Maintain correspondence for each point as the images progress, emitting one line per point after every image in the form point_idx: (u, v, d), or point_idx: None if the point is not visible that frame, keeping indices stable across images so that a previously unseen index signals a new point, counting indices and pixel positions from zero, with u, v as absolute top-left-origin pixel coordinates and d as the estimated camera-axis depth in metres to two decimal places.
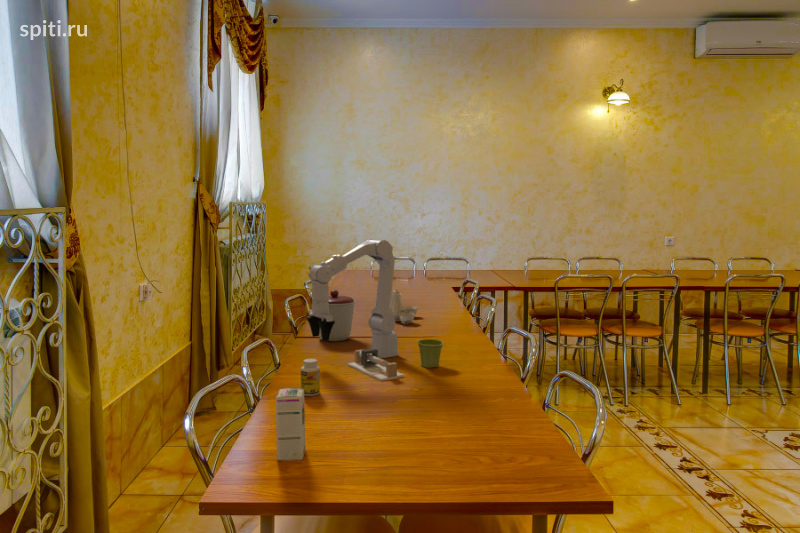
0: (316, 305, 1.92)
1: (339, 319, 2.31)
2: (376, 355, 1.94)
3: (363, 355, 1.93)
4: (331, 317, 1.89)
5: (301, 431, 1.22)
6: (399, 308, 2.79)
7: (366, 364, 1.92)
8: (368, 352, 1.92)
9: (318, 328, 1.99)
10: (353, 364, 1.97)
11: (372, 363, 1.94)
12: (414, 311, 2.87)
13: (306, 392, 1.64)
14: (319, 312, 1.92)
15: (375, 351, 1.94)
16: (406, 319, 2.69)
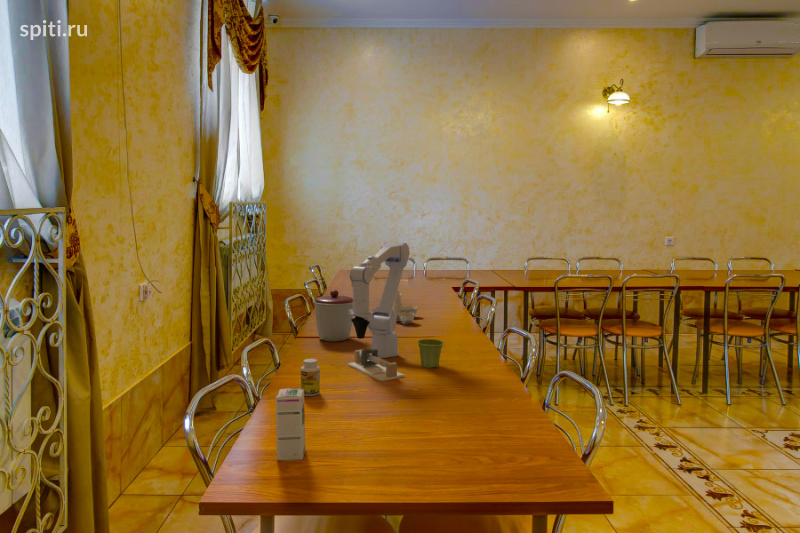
0: (357, 305, 1.95)
1: (339, 319, 2.31)
2: (376, 355, 1.94)
3: (363, 355, 1.93)
4: (373, 317, 1.92)
5: (301, 431, 1.22)
6: (399, 308, 2.79)
7: (366, 364, 1.92)
8: (368, 352, 1.92)
9: None
10: (353, 364, 1.97)
11: (372, 363, 1.94)
12: (414, 311, 2.87)
13: (306, 392, 1.64)
14: (360, 312, 1.95)
15: (375, 351, 1.94)
16: (406, 319, 2.69)
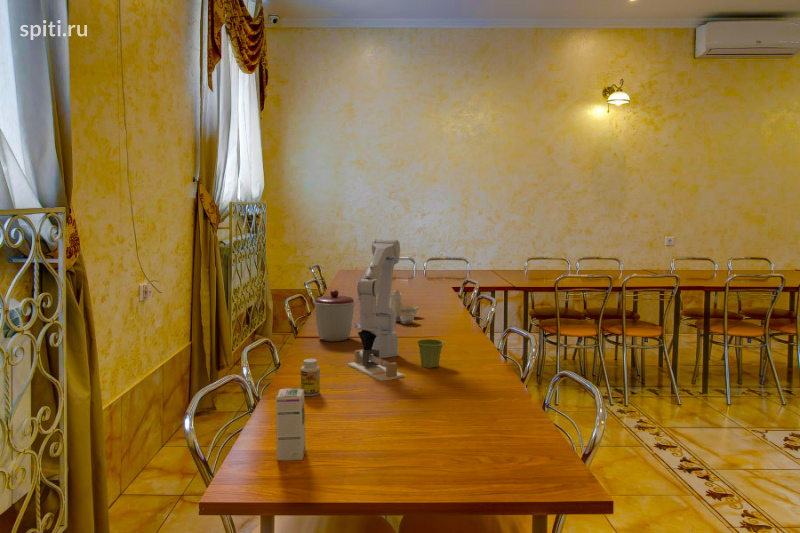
0: (364, 319, 1.91)
1: (339, 319, 2.31)
2: (377, 356, 1.94)
3: (364, 356, 1.92)
4: (380, 331, 1.89)
5: (301, 431, 1.22)
6: (399, 308, 2.79)
7: (367, 365, 1.92)
8: (369, 353, 1.92)
9: None
10: (353, 364, 1.97)
11: (373, 364, 1.93)
12: (414, 311, 2.87)
13: (306, 392, 1.64)
14: (367, 326, 1.91)
15: (376, 352, 1.93)
16: (406, 319, 2.69)
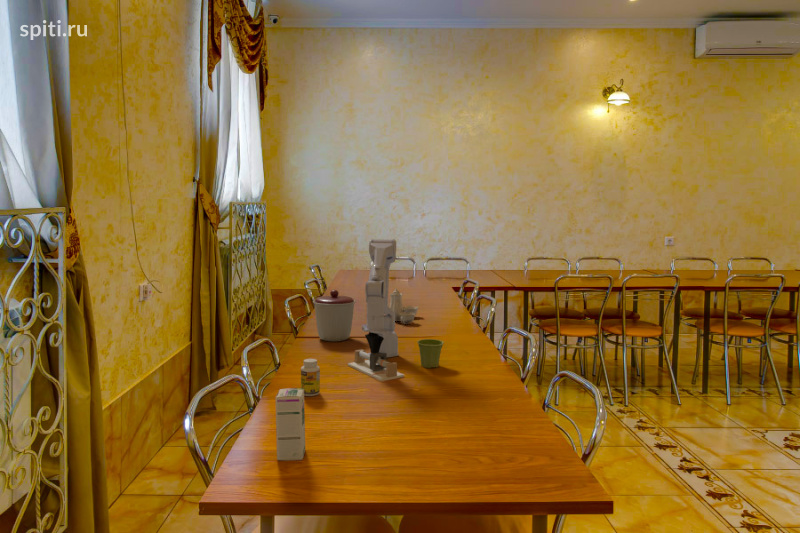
0: (372, 321, 1.87)
1: (339, 319, 2.31)
2: (385, 359, 1.90)
3: (372, 359, 1.88)
4: (388, 333, 1.85)
5: (301, 431, 1.22)
6: (399, 308, 2.79)
7: (375, 368, 1.88)
8: (377, 356, 1.88)
9: None
10: (353, 364, 1.97)
11: (381, 367, 1.89)
12: (414, 311, 2.87)
13: (306, 392, 1.64)
14: (375, 328, 1.88)
15: (384, 354, 1.90)
16: (406, 319, 2.69)
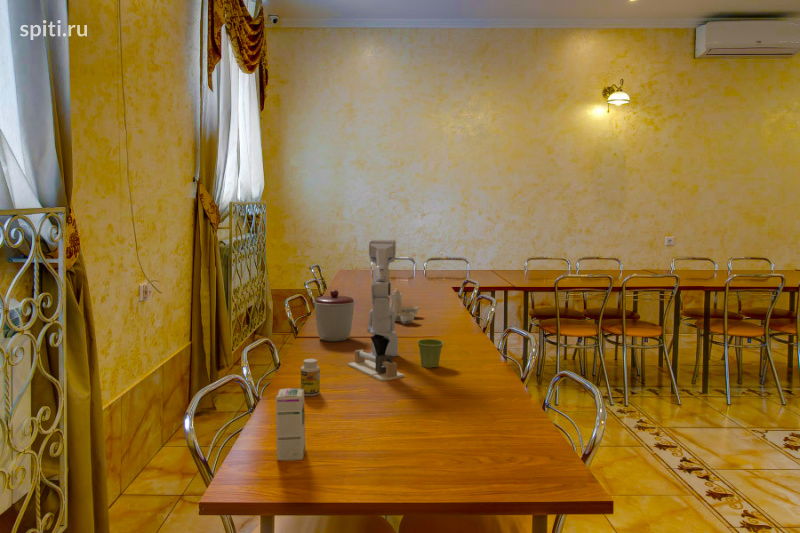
0: (378, 323, 1.84)
1: (339, 319, 2.31)
2: (391, 361, 1.87)
3: (377, 361, 1.85)
4: (394, 336, 1.82)
5: (301, 431, 1.22)
6: (399, 308, 2.79)
7: (381, 370, 1.85)
8: (383, 358, 1.85)
9: None
10: (353, 364, 1.97)
11: None
12: (415, 311, 2.87)
13: (306, 392, 1.64)
14: (380, 330, 1.85)
15: (390, 357, 1.87)
16: (406, 319, 2.69)
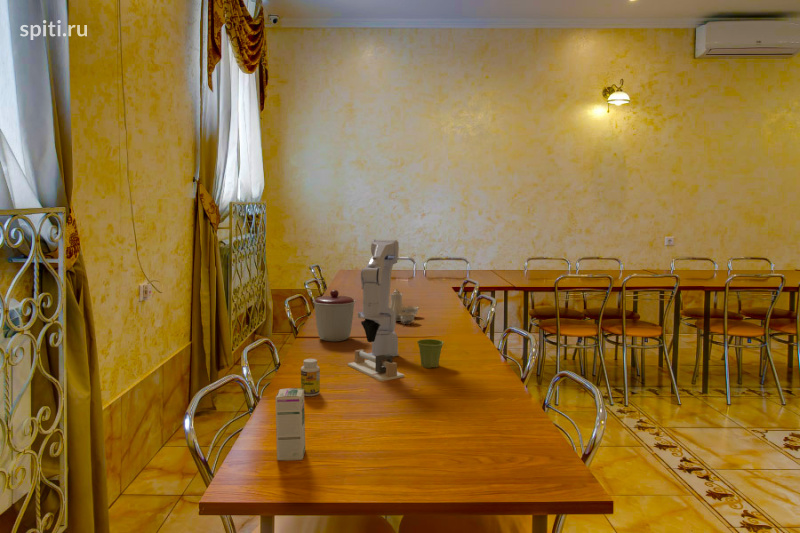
0: (368, 308, 1.89)
1: (339, 319, 2.31)
2: (391, 361, 1.87)
3: (377, 361, 1.85)
4: (384, 320, 1.86)
5: (301, 431, 1.22)
6: (400, 308, 2.79)
7: (381, 370, 1.85)
8: (383, 358, 1.85)
9: None
10: (353, 364, 1.97)
11: None
12: (415, 311, 2.87)
13: (306, 392, 1.64)
14: (371, 315, 1.89)
15: (390, 357, 1.87)
16: (406, 319, 2.69)
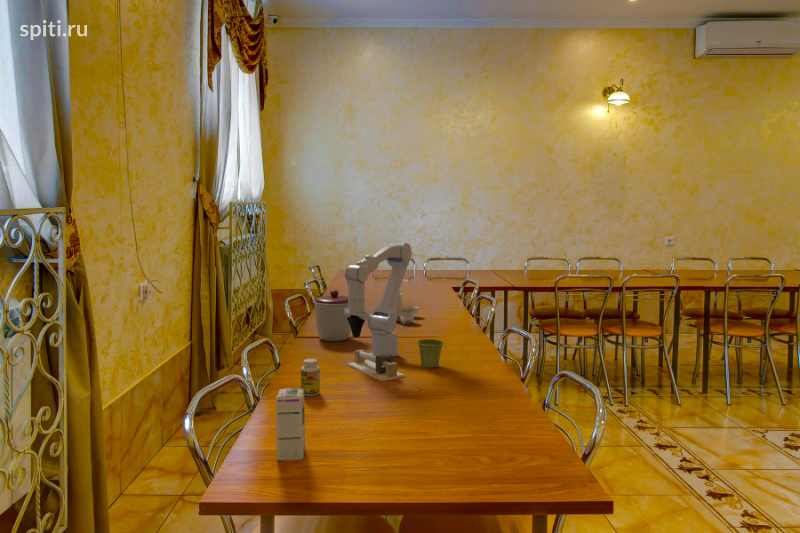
0: (353, 304, 1.95)
1: (339, 319, 2.31)
2: (391, 361, 1.87)
3: (377, 361, 1.85)
4: (368, 316, 1.93)
5: (301, 431, 1.22)
6: (400, 308, 2.79)
7: (381, 370, 1.85)
8: (383, 358, 1.85)
9: None
10: (353, 364, 1.97)
11: None
12: (415, 311, 2.87)
13: (306, 392, 1.64)
14: (356, 311, 1.96)
15: (390, 357, 1.87)
16: (406, 319, 2.69)
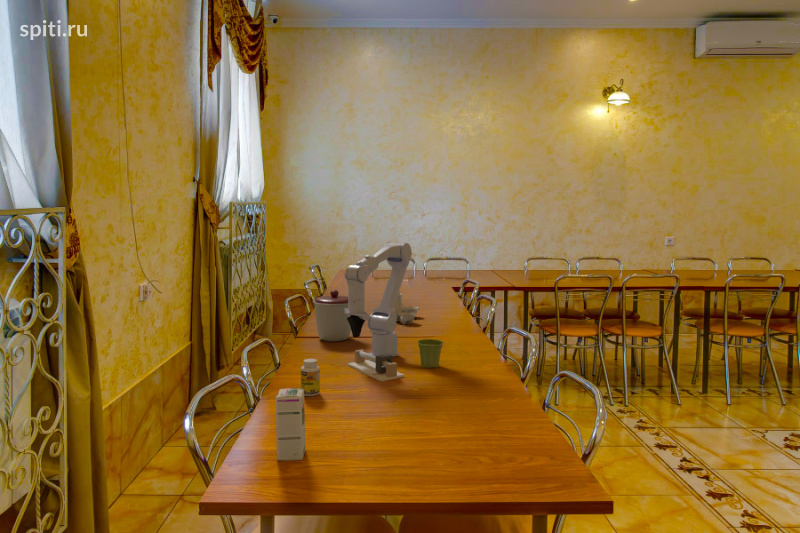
0: (353, 304, 1.95)
1: (339, 319, 2.31)
2: (391, 361, 1.87)
3: (377, 361, 1.85)
4: (368, 316, 1.93)
5: (301, 431, 1.22)
6: (400, 308, 2.79)
7: (381, 370, 1.85)
8: (383, 358, 1.85)
9: None
10: (353, 364, 1.97)
11: None
12: (415, 311, 2.87)
13: (306, 392, 1.64)
14: (356, 311, 1.96)
15: (390, 357, 1.87)
16: (406, 319, 2.69)
